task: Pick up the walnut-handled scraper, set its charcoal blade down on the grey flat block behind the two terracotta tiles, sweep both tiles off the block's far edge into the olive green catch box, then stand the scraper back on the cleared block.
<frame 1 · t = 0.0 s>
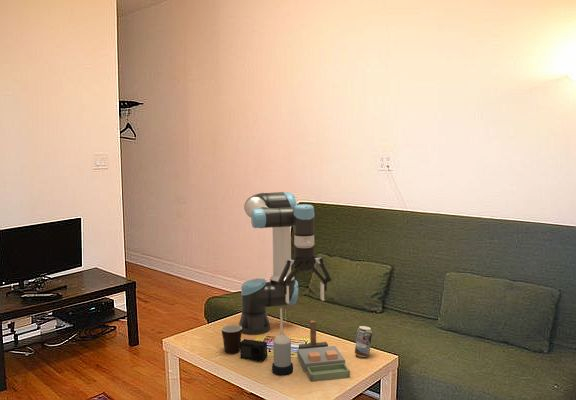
hand: (304, 301, 193), 28 cm above the table, tool pointing down, fingers open, 13 cm apart
catch box: (328, 375, 193), on the table
digital camera: (253, 359, 209), on the table
grey flat block: (320, 362, 204), on the table
tile 2: (331, 357, 201), point 3 cm above the table, touching grey flat block
coffee mug: (233, 350, 218), on the table
scraper: (313, 351, 216), on the table
beverage can: (363, 355, 211), on the table
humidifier: (282, 371, 197), on the table
tile 1: (314, 358, 200), point 3 cm above the table, touching grey flat block
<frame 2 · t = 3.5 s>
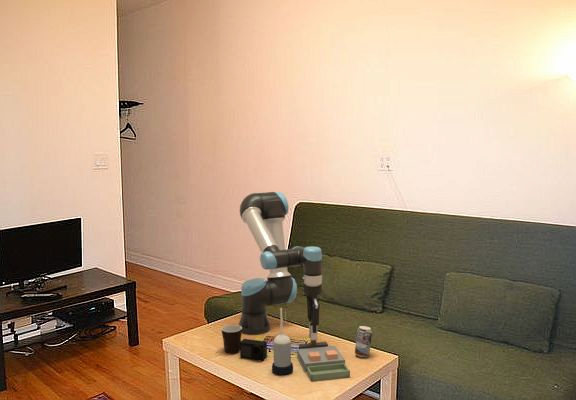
hand: (313, 338, 215), 6 cm above the table, tool pointing down, fingers closed on scraper, 2 cm apart
scraper: (313, 351, 216), on the table, touching gripper
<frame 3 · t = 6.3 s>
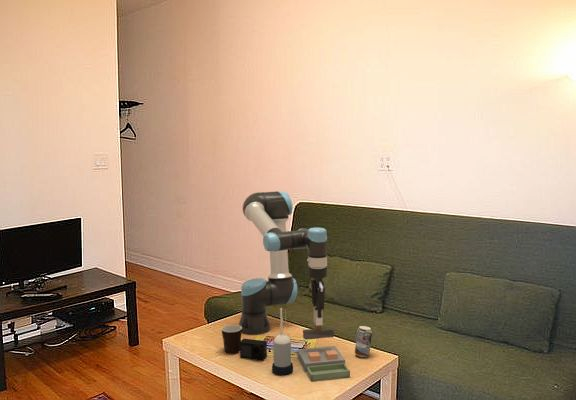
hand: (318, 323, 206), 15 cm above the table, tool pointing down, fingers closed on scraper, 2 cm apart
scraper: (318, 337, 207), point 9 cm above the table, touching gripper
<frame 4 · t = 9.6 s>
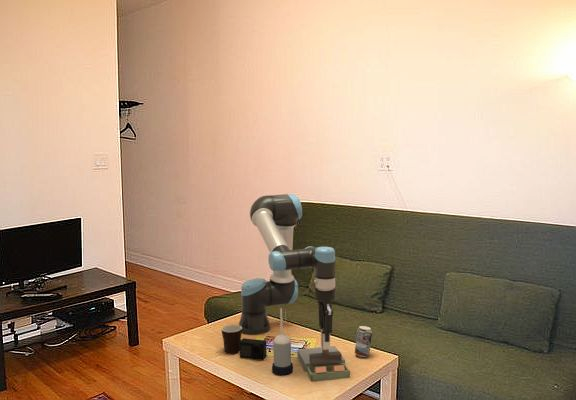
hand: (325, 347, 196), 9 cm above the table, tool pointing down, fingers closed on scraper, 2 cm apart
tile 2: (337, 366, 193), point 3 cm above the table, tilted 147°, touching catch box
scraper: (325, 361, 197), point 4 cm above the table, touching gripper
tile 1: (319, 368, 192), point 3 cm above the table, tilted 140°, touching catch box
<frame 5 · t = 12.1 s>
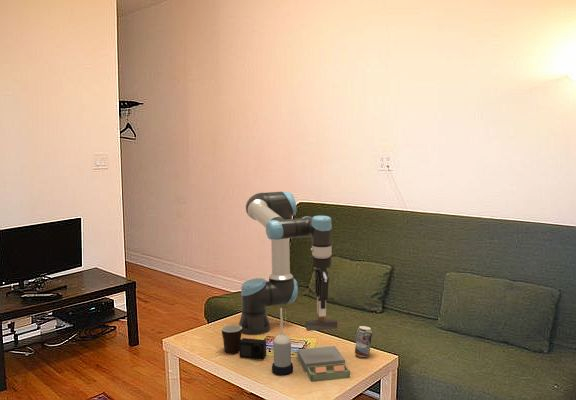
hand: (321, 314, 200), 21 cm above the table, tool pointing down, fingers closed on scraper, 2 cm apart
scraper: (321, 328, 201), point 15 cm above the table, touching gripper
when the fingers open (10 cm above the table, at t = 14.6 s): scraper drops 1 cm, resting on grey flat block.
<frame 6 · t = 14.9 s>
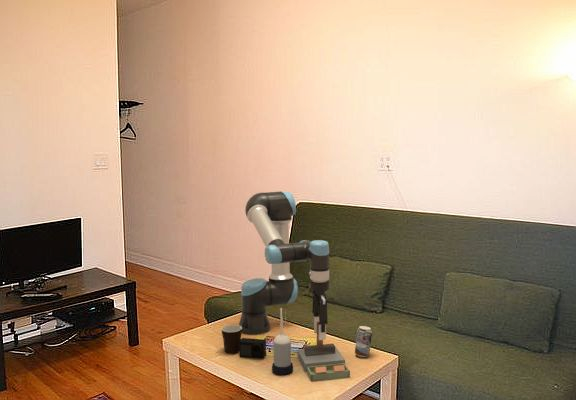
hand: (319, 335, 204), 11 cm above the table, tool pointing down, fingers open, 7 cm apart
scraper: (319, 353, 205), point 3 cm above the table, touching grey flat block
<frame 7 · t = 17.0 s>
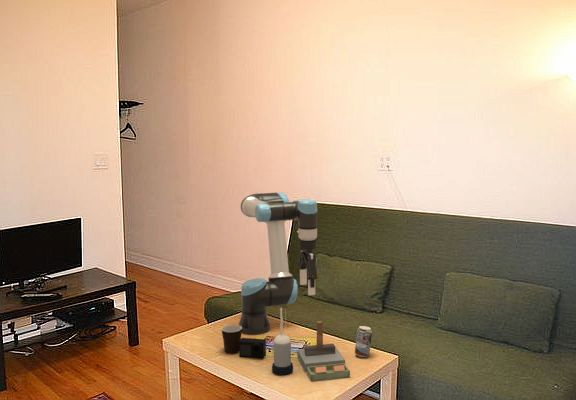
hand: (307, 289, 207), 28 cm above the table, tool pointing down, fingers open, 13 cm apart
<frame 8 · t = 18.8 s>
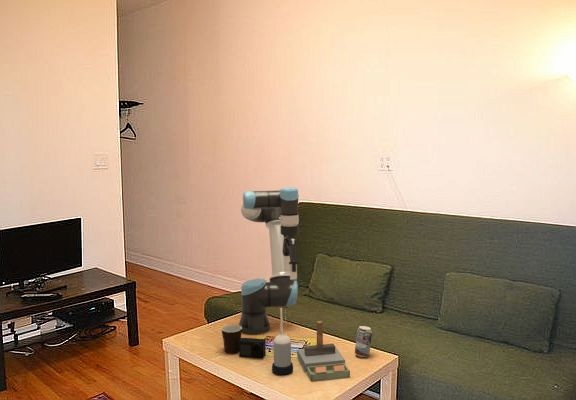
hand: (290, 275, 213), 33 cm above the table, tool pointing down, fingers open, 13 cm apart
at the end: tile 1 inside the target area on the catch box (3.7 cm from its centre), point 3.4 cm above the catch box's base; tile 2 inside the target area on the catch box (3.6 cm from its centre), point 3.4 cm above the catch box's base; scraper inside the target area (1.1 cm from its centre), point 3.5 cm above the table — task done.
